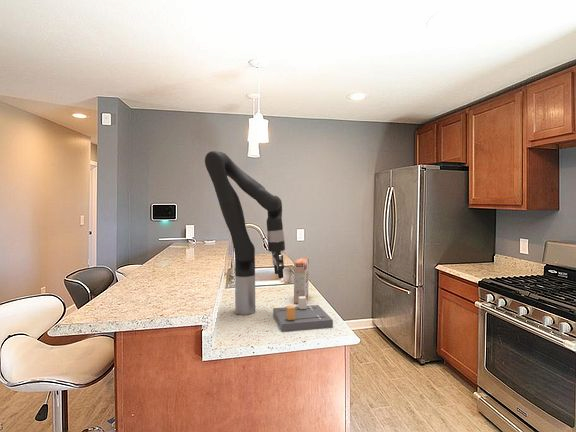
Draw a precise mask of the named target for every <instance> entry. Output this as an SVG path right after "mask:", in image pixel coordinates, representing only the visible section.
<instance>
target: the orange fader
mask: <svg viewBox="0 0 576 432" xmlns="http://www.w3.org/2000/svg"><path fill="white" fill-rule="evenodd" d="M285 307H286V318H287V320H295V307H296V306H294V305H287V306H285Z"/></svg>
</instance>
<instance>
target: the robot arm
mask: <svg viewBox="0 0 576 432" xmlns="http://www.w3.org/2000/svg"><path fill="white" fill-rule="evenodd" d="M204 165H205V168H206V170H207V173H208V174H209V175H208V176H209V178H210V180H211V181H212V184H213V187H214V191H215V194H216V198H217V201H218V204H219V207H220V211H221V213H222V217H223V219H224V221H225V224H226V226H227V227H226V228H228V231H229V233H230V238H231V241H232V245H233V249H234V250H233V251H234V311H235V314H236V315H240V316H241V315H242V316H243V315H244V316H246V315H252V314H254V313H256V260H255V259H256V257H255V256H256V249H255V247H256V246H255V245H254V243H253V242H252V240H251V238H250V235H249V232H248V230H247V227H246V220H245V216H244V215H245V214H244V210H243V207H242V203H241V200H240V197H239V195H238V194H237V192H236V190H235V188H234V187H233V186H232V184H231V182H230V181H229V178H230V179H232V180H233V181H234V183H235V184H236V185H237V186H238V187H239V188H240V190H241V191H243V192H244V193H245V194H246V195H248V196H249V197H250V198H252V199H254V200H255V201H256V202H257V203H258V204H259V205H260V207H262V208H263V209H264V210H266V211H267V219H266V231H267V234H266V238H267V248H268V252H270V253H271V256H272V258H271V259H272V264H273V268H274V275H278V276H277V277H278V279H284V278H285V277H284V269H285V265H284V264H285V263H284V255H283V254H282V253H281V252H283V251H285V250H286V245H285V244H286V243H285V233H284V226H283V225H284V224H283V218H282V217H283V216H282V215H283V203H282V199H281V197H279V196H278V195H273V194H272V193H270V192H269V191H268V190H267V189H266V188H265V187H264V186H263V185H262V184H261V183H259V182H258V181H257V180H255V178H252V177H251V176H250V175H249V174H247V173H246V172H244V170H242V169H241V168H240V167H239V166H238V165H237V164H236V163H235V162H234V161H233V160H232V159H231V158H230V156H228V154H226V153H225V152H222V151H216V150H212V151H208V153H206V155H205V158H204Z"/></svg>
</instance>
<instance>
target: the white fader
mask: <svg viewBox="0 0 576 432" xmlns="http://www.w3.org/2000/svg"><path fill="white" fill-rule="evenodd" d="M307 299H308V298H306V297H305V296H301V297H298V303H297V305H298V307H299V309H307V306H308V305H307V304H308V303H307V301H308V300H307Z"/></svg>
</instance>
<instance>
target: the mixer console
mask: <svg viewBox="0 0 576 432" xmlns="http://www.w3.org/2000/svg"><path fill="white" fill-rule="evenodd" d="M294 307H295V320H287V318H286V306H283V307H273V308H272V309H273V313H272V314H273V317H274V318H275V321H276V323H277V326H278V327H279V329H280V331H281V332H282V333H283V332H284V331H285V332H294V331H306V330H315V329H317V330H318V329H328V328H329V329H330V328H334V320H333V319H332V317H331V316H330V315H328V313H327V312H326V311H325V310H324V309H323V308H322V307H321V306H320V305H319V304H313V305H311V304H310V305H307V309H299V307H298V306H297V305H296V306H294Z"/></svg>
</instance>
